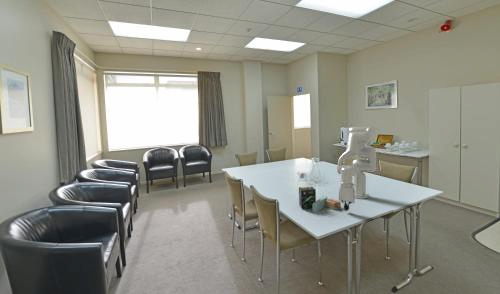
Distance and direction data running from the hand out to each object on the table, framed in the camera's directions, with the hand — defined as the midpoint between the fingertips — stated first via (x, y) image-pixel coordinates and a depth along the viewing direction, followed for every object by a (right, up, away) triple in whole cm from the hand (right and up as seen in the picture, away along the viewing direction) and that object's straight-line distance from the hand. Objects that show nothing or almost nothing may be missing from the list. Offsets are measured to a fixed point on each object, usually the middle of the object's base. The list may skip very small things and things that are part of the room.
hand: (346, 209), depth 170 cm
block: (-6, -1, +12) cm, 13 cm away
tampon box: (-24, -2, +15) cm, 28 cm away
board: (-15, -1, +11) cm, 19 cm away
